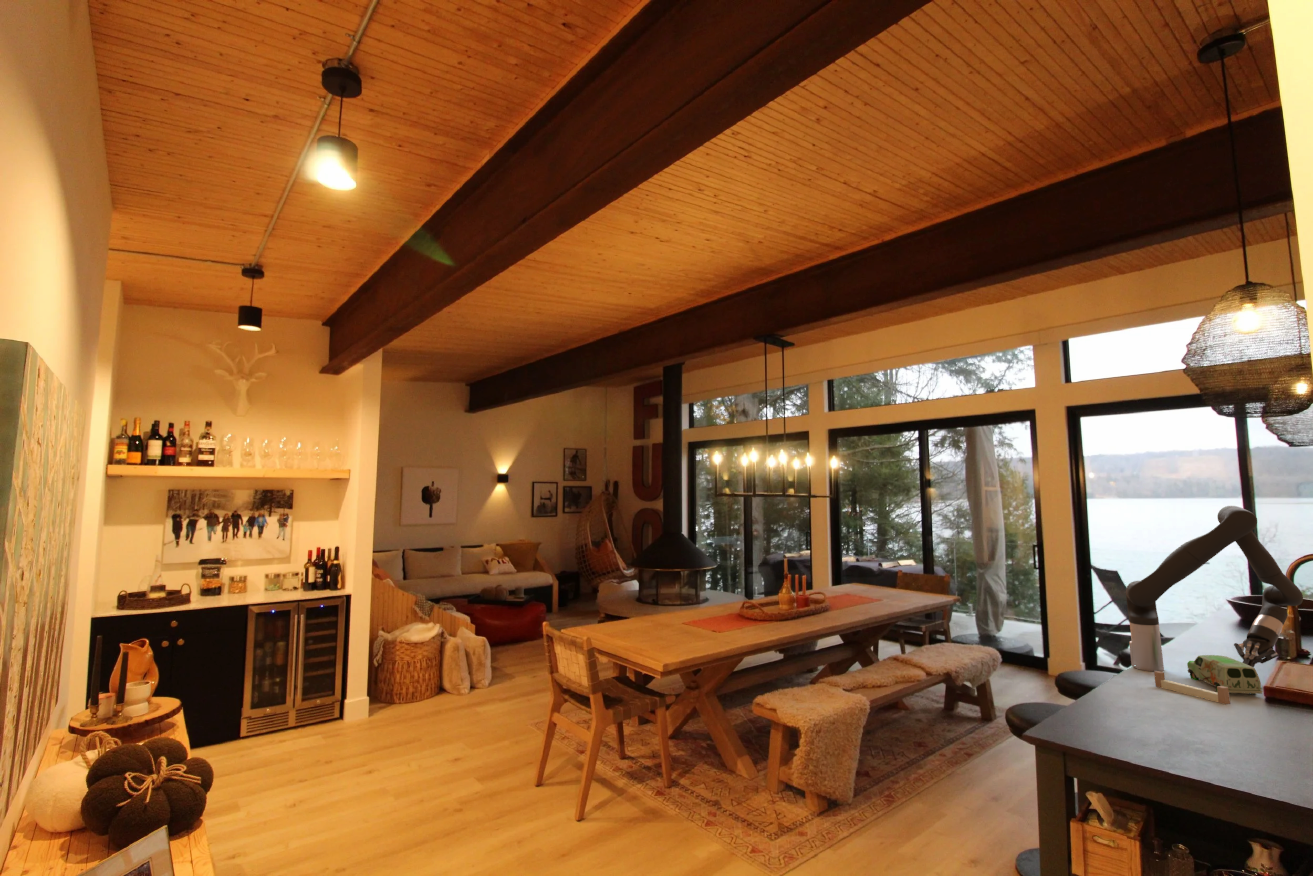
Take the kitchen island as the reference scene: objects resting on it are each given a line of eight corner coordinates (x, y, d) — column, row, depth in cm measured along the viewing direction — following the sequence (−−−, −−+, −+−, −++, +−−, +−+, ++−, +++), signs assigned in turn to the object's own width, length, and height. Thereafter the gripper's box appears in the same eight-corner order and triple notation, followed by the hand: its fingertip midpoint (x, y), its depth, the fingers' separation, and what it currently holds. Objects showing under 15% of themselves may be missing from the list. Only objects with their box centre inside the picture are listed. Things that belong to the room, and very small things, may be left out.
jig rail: (1155, 686, 227) (1154, 671, 228) (1159, 685, 228) (1158, 671, 228) (1225, 704, 206) (1223, 688, 207) (1230, 703, 207) (1228, 687, 207)
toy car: (1220, 678, 234) (1217, 650, 235) (1265, 698, 210) (1261, 667, 212) (1186, 677, 237) (1183, 649, 238) (1226, 697, 213) (1223, 666, 214)
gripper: (1238, 621, 237) (1218, 658, 232) (1281, 627, 224) (1261, 667, 220) (1249, 634, 238) (1230, 672, 233) (1293, 641, 225) (1274, 681, 221)
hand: (1245, 669), depth 226 cm, fingers closed
